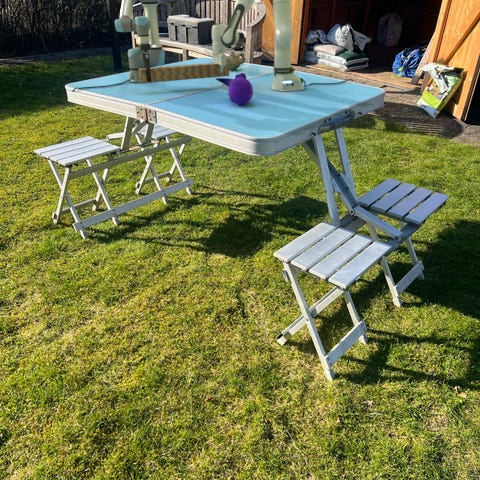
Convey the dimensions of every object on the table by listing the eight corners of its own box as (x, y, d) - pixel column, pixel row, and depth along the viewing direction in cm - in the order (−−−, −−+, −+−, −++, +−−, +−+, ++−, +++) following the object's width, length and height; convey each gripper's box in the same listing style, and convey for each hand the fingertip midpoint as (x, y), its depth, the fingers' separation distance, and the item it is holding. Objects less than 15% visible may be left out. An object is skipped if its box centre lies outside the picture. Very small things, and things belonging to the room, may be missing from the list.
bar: (140, 83, 295) (139, 70, 291) (140, 81, 300) (138, 68, 295) (229, 76, 309) (229, 63, 305) (227, 74, 314) (226, 61, 310)
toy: (238, 95, 290) (253, 110, 269) (212, 91, 282) (225, 106, 262) (244, 71, 282) (260, 84, 261) (218, 65, 274) (232, 78, 254)
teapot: (225, 72, 363) (224, 52, 355) (218, 70, 371) (218, 50, 364) (248, 69, 372) (247, 50, 364) (241, 67, 381) (240, 48, 373)
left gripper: (152, 44, 280) (156, 83, 292) (148, 41, 295) (152, 77, 307) (140, 45, 278) (144, 84, 290) (136, 41, 293) (141, 78, 305)
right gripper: (227, 51, 294) (228, 73, 301) (219, 47, 311) (220, 68, 318) (218, 51, 292) (219, 74, 299) (210, 48, 309) (211, 69, 316)
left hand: (148, 80), depth 298 cm, fingers closed on bar, 6 cm apart
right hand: (220, 71), depth 309 cm, fingers closed on bar, 5 cm apart
